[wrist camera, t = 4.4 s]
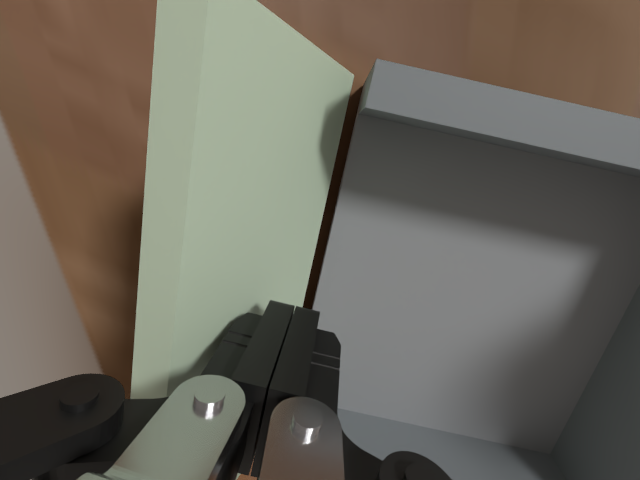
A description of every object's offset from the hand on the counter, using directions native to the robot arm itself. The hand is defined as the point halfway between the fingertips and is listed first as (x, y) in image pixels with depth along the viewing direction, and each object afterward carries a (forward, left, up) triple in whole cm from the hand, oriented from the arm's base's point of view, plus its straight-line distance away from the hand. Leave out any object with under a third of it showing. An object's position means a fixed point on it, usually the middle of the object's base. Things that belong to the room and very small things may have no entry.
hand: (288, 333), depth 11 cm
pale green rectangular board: (0, 0, -5) cm, 5 cm away
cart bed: (-8, 0, -7) cm, 10 cm away
